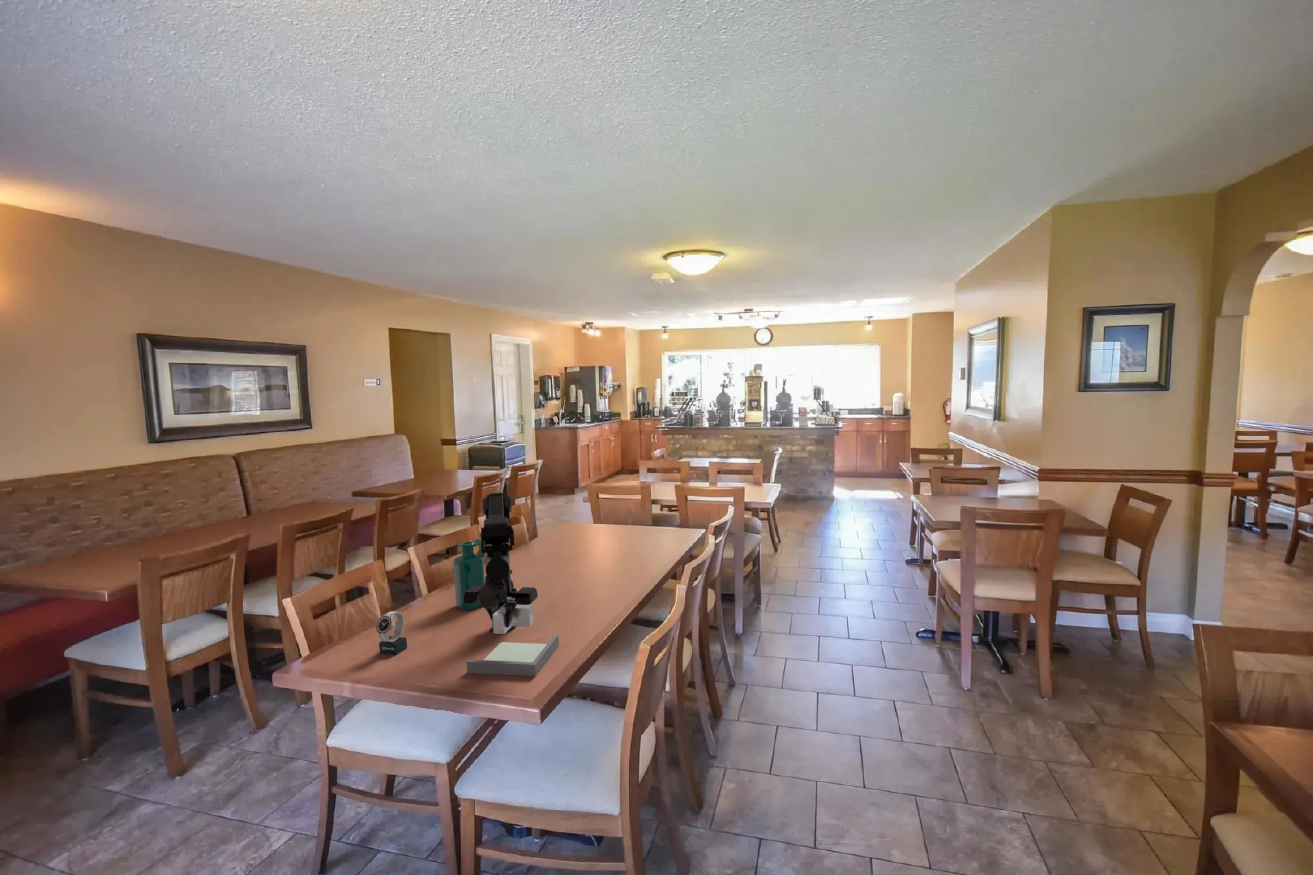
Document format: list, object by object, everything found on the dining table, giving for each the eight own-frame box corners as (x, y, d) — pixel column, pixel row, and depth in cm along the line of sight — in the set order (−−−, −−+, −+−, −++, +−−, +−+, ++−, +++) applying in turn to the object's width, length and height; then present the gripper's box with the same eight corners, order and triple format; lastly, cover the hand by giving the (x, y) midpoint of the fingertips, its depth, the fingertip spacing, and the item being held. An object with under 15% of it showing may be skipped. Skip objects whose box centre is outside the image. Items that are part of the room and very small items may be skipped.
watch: (374, 656, 156) (371, 617, 155) (395, 643, 164) (392, 606, 163) (391, 658, 154) (388, 619, 154) (411, 645, 162) (408, 608, 161)
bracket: (506, 621, 156) (505, 603, 155) (534, 622, 154) (533, 604, 154) (493, 633, 148) (492, 614, 148) (522, 634, 147) (521, 615, 146)
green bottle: (463, 612, 186) (459, 546, 184) (454, 605, 193) (450, 542, 191) (492, 604, 192) (488, 541, 190) (482, 598, 199) (478, 536, 197)
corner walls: (466, 673, 144) (466, 661, 144) (496, 643, 161) (496, 633, 161) (535, 676, 141) (535, 664, 141) (558, 645, 158) (558, 635, 158)
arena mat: (474, 670, 145) (474, 669, 145) (501, 643, 161) (501, 642, 161) (533, 673, 143) (533, 672, 143) (554, 645, 158) (554, 644, 158)
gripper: (449, 578, 142) (453, 638, 143) (520, 579, 139) (523, 641, 140) (471, 565, 153) (474, 620, 154) (536, 566, 150) (539, 623, 151)
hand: (502, 626), depth 150 cm, fingers closed on bracket, 3 cm apart
